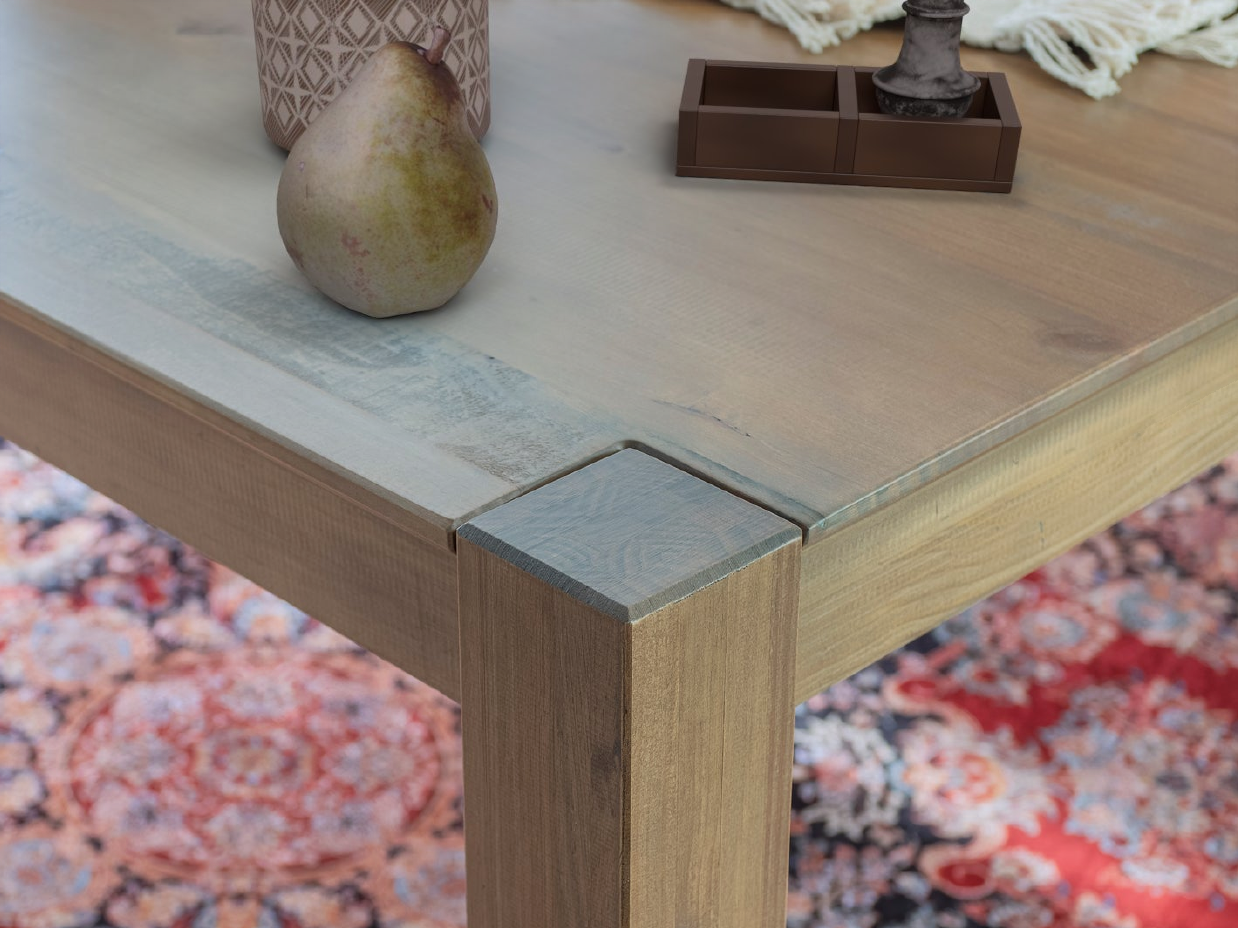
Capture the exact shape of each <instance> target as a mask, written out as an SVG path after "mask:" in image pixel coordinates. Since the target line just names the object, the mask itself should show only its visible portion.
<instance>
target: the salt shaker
mask: <svg viewBox="0 0 1238 928" xmlns="http://www.w3.org/2000/svg"><path fill="white" fill-rule="evenodd" d="M901 8H902V10H903V11H904V12H905V13H906V15H905V24H904V32H903V38H902V45H901V47H900V51H899V54H898V56H897V58H896V60H895V61H894V62H893V63H892V64H888V65H886V66H881V67H882V68H880V69H878V70H877V71H875V72H874V74H873V75H872V80H873V83H874V84H875V85H876V86H877V89H876V96H877V100H878V103H879V107H880V111H881V112H882V113H883V114H892V115H913V116H934V117H955V118H963V117H964V116H965V114H966V112H967V110H968V108H969V107H970V105H971V103H972V100H973V93H975V92H976V91H978V90H979V88H980V86H981V82H980V80H979V78H978V77H976V76H975V75H974V74H972V73H970V72H968V71H969V70H965V69H964V68H963V67H962V65H961V57H960V42H961V35H962V29H963V20H964V17H965V16H966V15H968V14H969V13H970V11H971V8H970V5H968V4H967V3H966V2H965V0H905V1H903V3H901Z"/></svg>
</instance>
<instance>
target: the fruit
mask: <svg viewBox="0 0 1238 928" xmlns="http://www.w3.org/2000/svg"><path fill="white" fill-rule="evenodd" d="M451 38H452V36H451V34H450V33H449V31H448V30H447V29H444V28H441V27H440V25H437V26H436V27H435V29H434V38H433V40H432V45H431V47H430V48H429V49H428V50H427V49H425V48H423V47H421V46H419V45H417V44H414V43H411V42H407V41H395V42H391V43H388V44H386V45H384V46H382V47H381V48H379V49H378V50H377V51H375V52H374V53H373V54H372V55H371V56H370V58H369V59H368V60H367V61H366V62H365V64H364V65H363V66H362V68H361V69H360V71H359V72H358V73H357V75H356V76H355V77H354V79H353V80H352V81H351V82H350V84H349V85H348V86H347V87H346V88H345V89H344V90H343V91H342V92H341V93H340V94H339V95H338V96H337V97H336V98H335V99H334V100H333V101H332V102H331V103H330V104H329V105H328V106H327V107H326V108H325V109H324V110H323V111H322V112H321V113H319V115H318V116H317V117H316V118H315V119H314V120H313V121H312V122H311V124H310V125H309V126H308V127H307V129H306V130H305V131H304V132H303V134H302V135H301V136H300V137H299V138H298V140H297V141H296V143H295V144H294V146H293V147H292V149H291V151H289V154H288V156H287V157H286V160H285V162H284V164H283V165H284V166H283V167H282V170H281V171H282V172H281V174H280V178H279V183H278V186H277V194H276V218H277V226H278V227H277V228H278V231H279V232H278V233H279V235H280V238H281V240H282V242H283V245H284V247H285V250H286V252H287V254H288V255H289V257H290V259H291V260H292V262H293V264H294V266H295V267H296V269H297V270H298V271H299V272H300V274H301V275H303V277H304V278H305V279H306V281H308V282H309V283H310V284H311V285H313V286H314V287H315V288H317V289H318V290H320V292H322V293H323V294H325V295H326V296H327V297H328V298H330V299H332V300H334V301H335V302H336V303H338V304H340V305H342V306H343V307H345V308H348V309H349V310H352V311H355V312H359V313H362V314H364V315H366V316H369V317H372V318H377V319H382V318H389V317H394V316H395V317H396V316H399V315H405V314H406V315H407V314H411V313H414V312H415V313H417V312H423V311H429V310H433V309H437V308H440V307H442V306H444V305H445V304H446V303H447V302H448V301H449V300H451V299H452V298H453V297H454V296H456V295H457V293H459V292H460V291H461V290H462V288H463V287H465V286H466V285H467V284H468V283H469V282H470V280H471V279H472V278H473V277H474V276H475V274H476V273H477V271H478V270H479V268H480V267H481V265H482V264H483V262H484V261H485V259H486V257H487V255H488V253H489V251H490V249H491V246H492V244H493V242H494V240H495V236H496V232H497V231H496V230H497V224H498V215H499V199H498V193H497V188H496V182H495V179H494V176H493V172H492V169H491V165H490V163H489V161H488V158H487V156H486V154H485V152H484V150H483V148H482V146H481V144H480V143H479V142H478V141H477V140H476V139H475V137H474V136H473V134H472V131H471V129H470V127H469V124H468V121H467V115H466V108H465V101H464V97H463V93H462V90H461V88H460V85H459V83H458V81H457V79H456V76H455V74H454V73H453V71H452V70H451V68H450V67H449V66H448V65H447V64H446V63H445V62H444V61H443V60H442V58H443V56H444V53H443V52H444V50H445V49H446V47H447V45H448V44H449V42H450V41H451Z"/></svg>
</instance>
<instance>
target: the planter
mask: <svg viewBox="0 0 1238 928" xmlns="http://www.w3.org/2000/svg"><path fill="white" fill-rule="evenodd" d="M250 2H251V10H252V11H251V12H252V22H253V23H252V24H253V32H254V42H255V52H256V60H257V61H256V63H257V71H258V72H257V73H258V83H259V92H260V102H261V103H260V104H261V112H262V113H261V115H262V123H263V129H264V132H265V133H266V135H267V137H268V138H269V139H270V141H272V142H273V143H274V144H276V146H278V147H280V148H282V149H284V150H286V151H288V152H290V151H291V149H292V147H293V146H294V144H295V143H296V141H297V140H298V138H299V137H300V136H301V135H302V134H303V132H304V131H305V130H306V129H307V127H308V126H309V125H310V124H311V122H312V121H313V120H314V119H315V118H316V117H317V116H318V115H319V113H321V112H322V111H323V110H324V109H325V108H326V107H327V106H328V105H329V104H330V103H331V102H332V101H333V100H334V99H335V98H336V97H337V96H338V95H339V94H340V93H341V92H342V91H343V90H344V89H345V88H346V87H347V86H348V85H349V84H350V82H351V81H352V80H353V79H354V77H355V76H356V75H357V73H358V72H359V71H360V69H361V68H362V66H363V65H364V64H365V62H366V61H367V60H368V59H369V58H370V56H371V55H372V54H373V53H374V52H375V51H377V50H378V49H379V48H381V47H382V46H384V45H386V44H388V43H391V42H395V41H407V42H411V43H414V44H417V45H419V46H421V47H423V48H425V49H427V50H428V49H429V48H430V47H431V45H432V40H433V38H434V29H435V27H436V26H437V25H440V27H441V28H444V29H447V30H448V31H449V33H450V34H451V36H452V38H451V41H450V42H449V44H448V45H447V47H446V49H445V50H444V52H443V53H444V56H443V58H442V60H443V61H444V62H445V63H446V64H447V65H448V66H449V67H450V68H451V70H452V71H453V73H454V74H455V76H456V79H457V81H458V83H459V85H460V88H461V90H462V93H463V97H464V101H465V108H466V115H467V121H468V124H469V127H470V129H471V131H472V134H473V136H474V137H475V139H476V140H477V142H478V141H480V140H481V139H482V138H483V137H484V136H485V135H486V134H487V132H488V130H489V128H490V125H491V69H490V20H489V19H490V17H489V15H490V14H489V13H490V11H489V0H250Z"/></svg>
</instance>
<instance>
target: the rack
mask: <svg viewBox="0 0 1238 928" xmlns="http://www.w3.org/2000/svg"><path fill="white" fill-rule="evenodd" d="M882 67H883V66H865V65H842V64H837V65H835V64H821V63H820V64H819V63H799V62H798V63H795V62H775V61H774V62H771V61H750V60H730V59H709V58H708V59H707V58H693V57H692V58H688V62H687V67H686V71H685V73H686V74H685V77H684V81H683V82H684V83H683V86H682V87H683V88H682V93H681V97H680V103H679V108H678V120H677V121H678V123H677V141H676V142H677V143H676V144H677V145H676V162H675V163H676V166H675V176H677V177H695V178H713V179H730V180H731V179H733V180H751V181H752V180H754V181H770V182H771V181H772V182H791V183H808V184H810V183H812V184H827V185H828V184H829V185H830V184H831V185H847V186H848V185H851V186H867V187H868V186H869V187H886V188H887V187H889V188H908V189H926V190H947V191H966V192H967V191H968V192H984V193H985V192H986V193H987V192H988V193H1006V194H1011V193H1012V189H1013V182H1014V177H1015V173H1016V172H1015V171H1016V165H1017V159H1018V154H1019V148H1020V143H1021V142H1020V141H1021V137H1022V136H1021V135H1022V129H1023V125H1022V122H1021V119H1020V116H1019V113H1018V110H1017V107H1016V104H1015V101H1014V97H1013V95H1012V91H1011V89H1010V85H1009V82H1008V79H1007V77H1006V73H1005V72H999V71H978V70H975V71H974V70H967V71H968V72H970V73H972V74H974V75H975V76H976V77H978V78H979V80H980V82H981V86H980V88H979V90H978V91H976V92H975V93H973V100H972V103H971V105H970V107H969V108H968V110H967V112H966V114H965V116H964V117H963V118H955V117H934V116H913V115H892V114H883V113H882V112H881V111H880V107H879V103H878V100H877V96H876V89H877V86H876V85H875V84H874V83H873V80H872V75H873V74H874V72H875V71H877V70H878V69H880V68H882Z"/></svg>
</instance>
